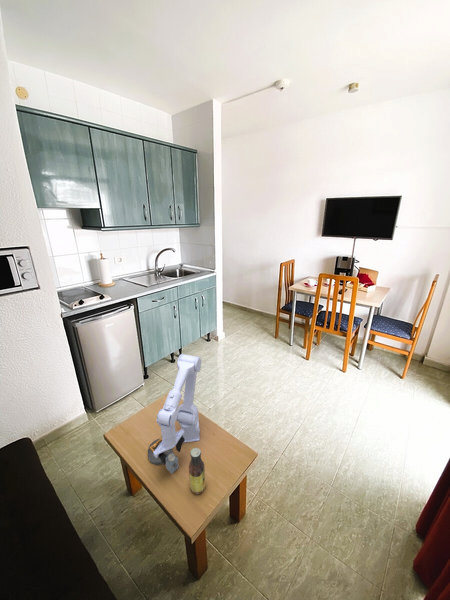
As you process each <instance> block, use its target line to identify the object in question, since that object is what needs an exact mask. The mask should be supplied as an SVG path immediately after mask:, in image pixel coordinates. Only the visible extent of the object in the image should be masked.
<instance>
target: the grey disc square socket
mask: <svg viewBox="0 0 450 600" xmlns="http://www.w3.org/2000/svg"><path fill="white" fill-rule="evenodd" d="M161 442H162V437H160V438H158V439H155V440H154V441H152V442H151V443H150V445H148V448H147V456H148V461H149V462H150V463H151V464H153V465H154V466H155V465H156V466H160V465H164V464H163V463H162V461H161V459H160V458H159V457H157V458H156V457H155V456H154V454H153V452H154V451H155V449H156V448H157V447H158V446H159V444H160V443H161ZM172 452H173V448H172V449H169V450H167V451H165V452H164V454H165V455H166V457H167V456H168V455H170V454H171V453H172Z"/></svg>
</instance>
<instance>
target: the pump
mask: <svg viewBox="0 0 450 600" xmlns="http://www.w3.org/2000/svg"><path fill="white" fill-rule="evenodd" d="M165 468H166V469H167V471H168V472H169V473H170V474H171V475H172V474H173V473H175V472H176V470H178V468H180V464H179V457H178V456H177V455H176V454H175V453H174V452H173V451H172V453H171V454H170V455H168V456H167V457H166V464H165Z"/></svg>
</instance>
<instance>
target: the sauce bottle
mask: <svg viewBox="0 0 450 600" xmlns="http://www.w3.org/2000/svg"><path fill="white" fill-rule="evenodd" d="M189 454H190V458H191V459H190V461H189V464H188V473H189V474H188V475H189V476H188V477H189V487H190V490H191V492H192V493H193V494H194V495H201V494H202V493H203V492H204V491H205V489H206V469H205V463H204V461H203V459H202V456H201V455H202V452H201V449H200V448H199V447H194V448H192V449H191V450H190V453H189Z"/></svg>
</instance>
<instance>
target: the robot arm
mask: <svg viewBox="0 0 450 600" xmlns="http://www.w3.org/2000/svg"><path fill="white" fill-rule="evenodd" d="M176 365H177V366H176V367H177V369H178V370H177V373H176V377H175V381H174V383H173V384H174V385H173V386H172V389H170V390H169V391H168V394H167V396H166V398H165V401H164V404H163V407H162V408H160V410H159V411H158V412H157V416H156V423H157V424H158V426H159V427H160V432H161V433H160V434H161V438H162V442H161V443H160V444H159V446H158V447H157V448H156V449H155V451H154V452H153V454H154V456H155V457H156V458H157V457H159V458H160V459H161V461H162V463H163V464H162V465H164V466H166V455H165V454H164V452H165V451H167V450H169V449H172V450H173V449H174V448H175V449H176V451H177V452H178V453H180V452H181V450H182V447H183V445H184V443H191V442H198V441H201V440H200V438H201V437H200V434H201V429H200V423H199V422H200V420H199V408H198V407H197V406H196V405H195V403H194V401H195V400H194V398H195V392H196V391H195V390H196V385H197V384H196V382H197V374H198V373H199V372H201V367H202V366H201V365H202V359H201V357H200V356H196V355H195V356H194V355H190V354H184V353H181V354H180V355H178V357H177V364H176ZM183 387H184V391H183V392H184V393H183V403H181V404H180V402H181V400H182V393H181V392H182V390H183ZM176 422H178V424H179V425H180V426H179V427H180V430H178V431H177V430H176Z"/></svg>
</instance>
